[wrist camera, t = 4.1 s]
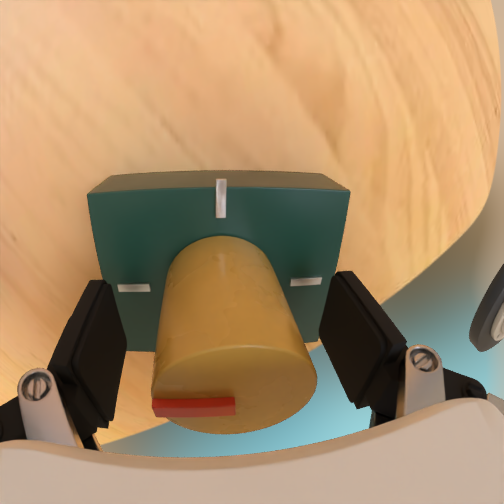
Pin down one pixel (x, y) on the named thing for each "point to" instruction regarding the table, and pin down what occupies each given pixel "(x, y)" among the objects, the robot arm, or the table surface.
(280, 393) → the knob
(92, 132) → the table surface
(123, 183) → the panel
